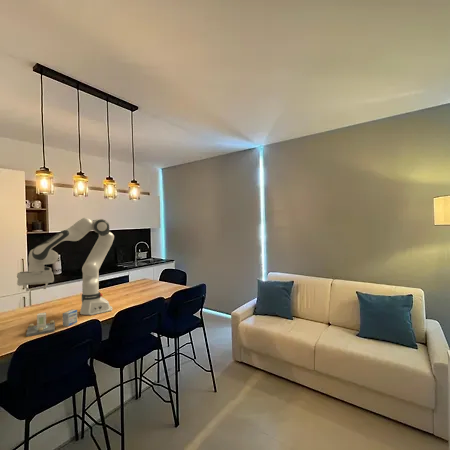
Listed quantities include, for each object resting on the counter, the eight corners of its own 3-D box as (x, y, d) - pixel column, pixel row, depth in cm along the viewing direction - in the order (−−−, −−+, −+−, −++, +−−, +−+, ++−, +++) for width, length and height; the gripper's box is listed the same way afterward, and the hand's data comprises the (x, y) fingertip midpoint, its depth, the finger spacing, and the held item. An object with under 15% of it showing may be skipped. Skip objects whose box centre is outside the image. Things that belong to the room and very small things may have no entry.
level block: (46, 325, 164) (46, 312, 164) (45, 328, 160) (45, 314, 160) (37, 327, 162) (37, 313, 162) (36, 329, 158) (37, 315, 158)
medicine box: (68, 326, 167) (68, 313, 167) (62, 326, 168) (62, 313, 168) (77, 322, 175) (77, 309, 175) (71, 321, 175) (71, 309, 176)
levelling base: (54, 324, 171) (54, 319, 171) (54, 331, 159) (54, 326, 159) (28, 328, 163) (28, 324, 163) (26, 336, 151) (26, 331, 151)
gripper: (17, 270, 170) (16, 290, 164) (54, 267, 182) (54, 286, 177) (17, 273, 174) (16, 293, 168) (53, 271, 187) (53, 289, 181)
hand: (36, 289), depth 173 cm, fingers open, 8 cm apart
